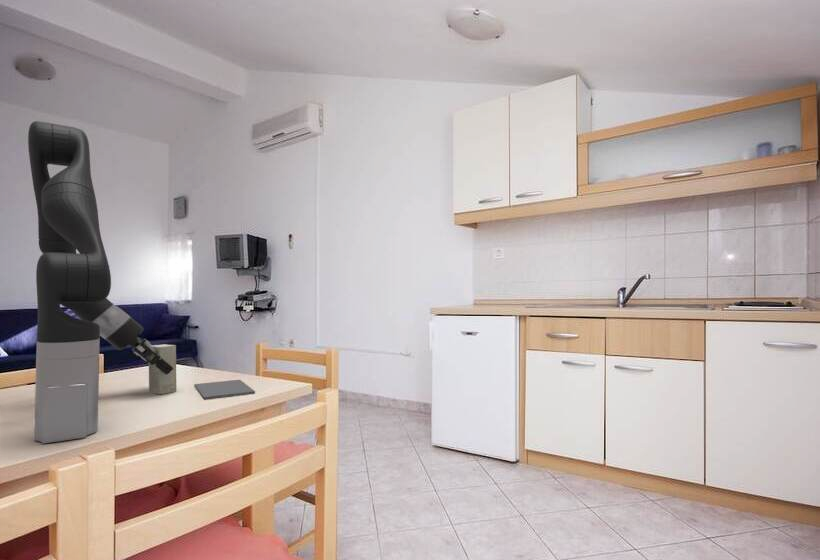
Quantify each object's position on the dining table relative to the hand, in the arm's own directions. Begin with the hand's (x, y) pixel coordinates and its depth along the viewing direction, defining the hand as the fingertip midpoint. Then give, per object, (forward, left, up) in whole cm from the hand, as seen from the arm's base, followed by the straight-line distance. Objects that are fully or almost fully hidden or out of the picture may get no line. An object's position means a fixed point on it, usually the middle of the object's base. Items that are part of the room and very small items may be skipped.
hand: (168, 369), depth 116 cm
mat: (-6, -12, -6) cm, 15 cm away
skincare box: (0, +2, -6) cm, 6 cm away
